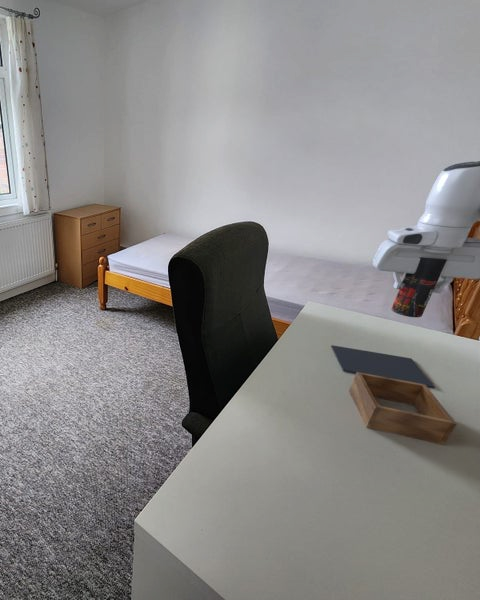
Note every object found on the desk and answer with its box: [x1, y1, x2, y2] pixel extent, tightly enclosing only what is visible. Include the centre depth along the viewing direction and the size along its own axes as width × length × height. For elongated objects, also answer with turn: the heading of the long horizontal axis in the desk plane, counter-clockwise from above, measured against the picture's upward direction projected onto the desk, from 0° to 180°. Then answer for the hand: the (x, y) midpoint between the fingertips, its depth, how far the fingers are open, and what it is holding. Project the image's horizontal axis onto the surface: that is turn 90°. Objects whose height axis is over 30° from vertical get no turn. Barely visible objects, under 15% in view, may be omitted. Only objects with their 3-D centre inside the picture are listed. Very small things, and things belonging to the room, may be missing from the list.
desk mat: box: [330, 344, 436, 389], centre depth 98 cm, size 20×14×1 cm
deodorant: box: [391, 257, 447, 318], centre depth 84 cm, size 6×6×15 cm
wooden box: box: [349, 372, 458, 446], centre depth 79 cm, size 14×14×6 cm
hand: (415, 290), depth 85 cm, fingers closed on deodorant, 6 cm apart
